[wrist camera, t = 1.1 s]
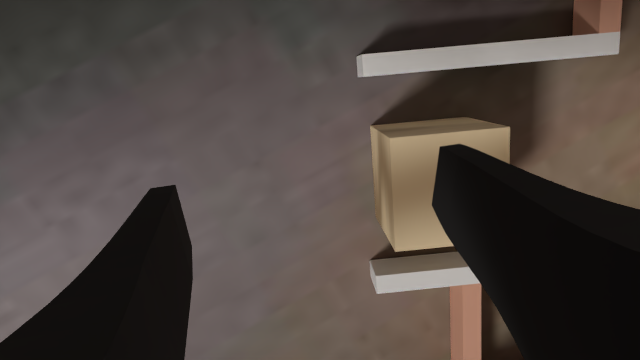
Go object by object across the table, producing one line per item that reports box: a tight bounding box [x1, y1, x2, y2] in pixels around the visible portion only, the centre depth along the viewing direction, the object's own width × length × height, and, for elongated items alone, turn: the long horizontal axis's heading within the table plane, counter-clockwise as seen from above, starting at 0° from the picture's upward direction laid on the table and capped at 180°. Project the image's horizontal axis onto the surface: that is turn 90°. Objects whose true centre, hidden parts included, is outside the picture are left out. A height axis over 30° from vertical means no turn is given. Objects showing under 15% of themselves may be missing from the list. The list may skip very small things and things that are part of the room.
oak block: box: [370, 117, 510, 252], centre depth 21 cm, size 5×5×5 cm
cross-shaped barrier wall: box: [357, 0, 622, 360], centre depth 22 cm, size 28×25×2 cm
